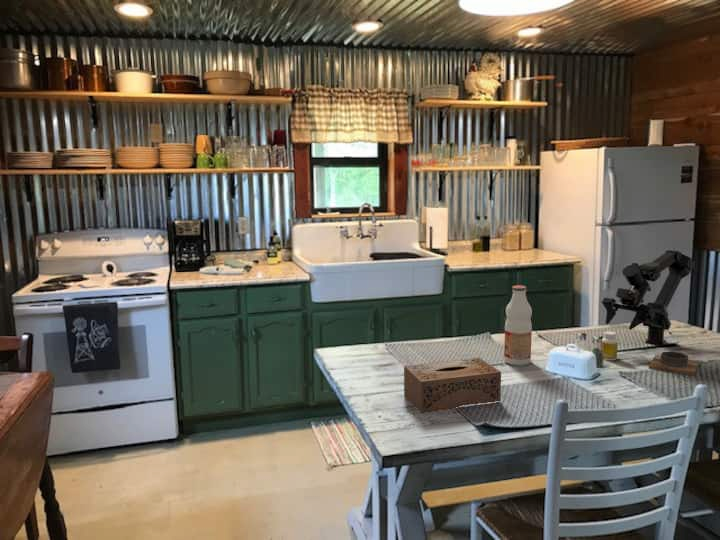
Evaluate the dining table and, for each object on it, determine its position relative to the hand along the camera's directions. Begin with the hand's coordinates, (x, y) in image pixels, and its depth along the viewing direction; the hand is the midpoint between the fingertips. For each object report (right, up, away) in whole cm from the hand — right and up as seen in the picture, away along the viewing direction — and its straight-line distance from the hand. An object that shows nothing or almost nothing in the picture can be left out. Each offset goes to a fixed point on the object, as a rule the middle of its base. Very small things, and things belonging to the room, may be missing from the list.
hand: (617, 326), depth 220 cm
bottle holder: (+15, -13, -10) cm, 22 cm away
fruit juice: (-38, -13, -3) cm, 40 cm away
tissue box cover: (-67, -20, -35) cm, 78 cm away
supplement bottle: (-4, -12, -1) cm, 13 cm away
